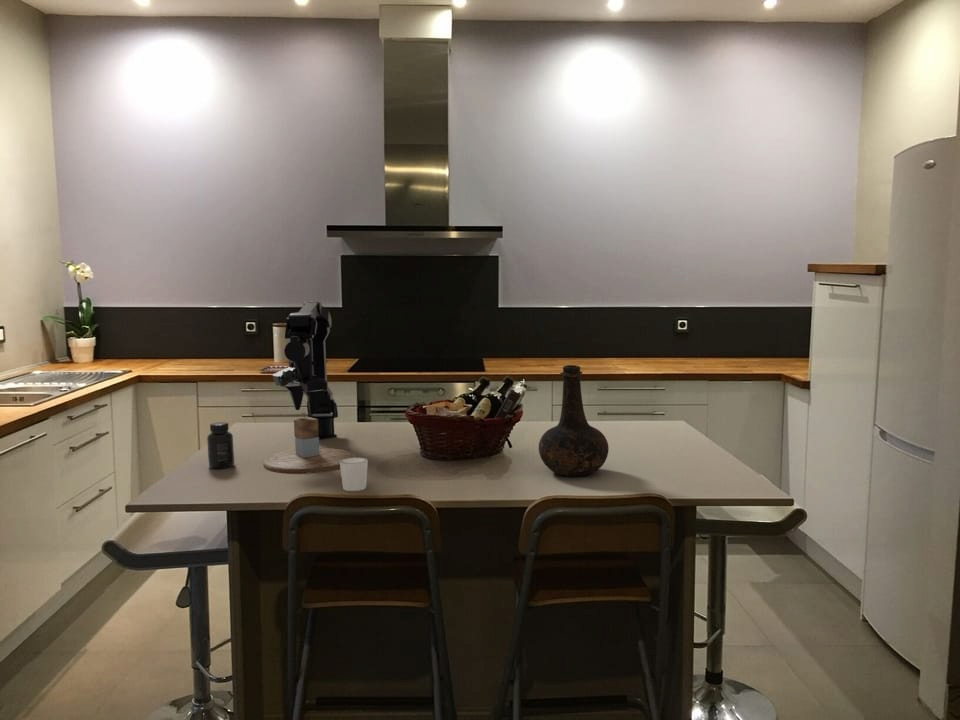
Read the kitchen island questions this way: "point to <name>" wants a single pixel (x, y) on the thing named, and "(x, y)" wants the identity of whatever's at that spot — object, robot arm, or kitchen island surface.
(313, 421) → the walnut block
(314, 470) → the trivet
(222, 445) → the supplement bottle
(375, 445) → the kitchen island surface
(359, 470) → the white cup
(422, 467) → the kitchen island surface
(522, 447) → the kitchen island surface
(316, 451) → the slate block
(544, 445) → the glass bottle
